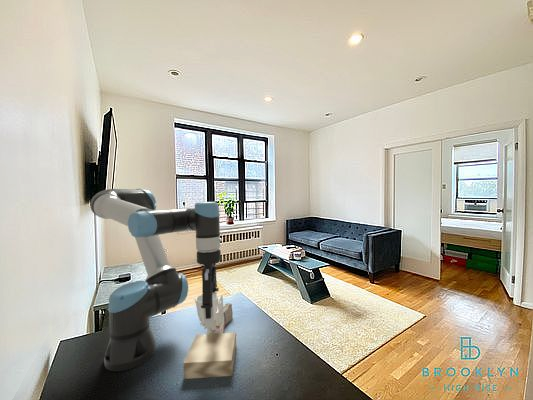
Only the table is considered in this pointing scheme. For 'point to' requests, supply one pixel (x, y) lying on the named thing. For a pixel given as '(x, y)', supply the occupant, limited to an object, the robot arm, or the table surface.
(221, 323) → the ink cartridge box
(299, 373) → the table surface
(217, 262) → the robot arm
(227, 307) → the mineral specimen
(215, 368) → the maple block
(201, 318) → the cup
